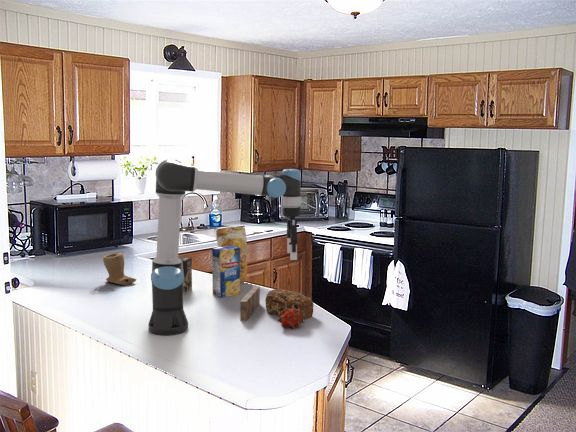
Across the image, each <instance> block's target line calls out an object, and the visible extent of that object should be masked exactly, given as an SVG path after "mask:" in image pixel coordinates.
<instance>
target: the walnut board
mask: <svg viewBox="0 0 576 432" xmlns="http://www.w3.org/2000/svg"><path fill="white" fill-rule="evenodd" d="M260 290H261V287H260V286H253V287H252V288H251V289H250V290H249V291H248V293H246V295H245V296H244V297H243V298H242V299H241V300H239V301H240V302H239V303H240V304H239V305H240V308H239V310H240V314H239V315H240V316H239V317H240V318H239V320H240V321H243V322H246V321H248V320H249V319H250V317H251V316H252V315H253V313H255V311H256V310H257V309H258V307H259V306H260V304H261V302H260V301H261V299H260V298H261V295H260V294H261V291H260Z"/></svg>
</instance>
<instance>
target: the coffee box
mask: <svg viewBox="0 0 576 432" xmlns="http://www.w3.org/2000/svg"><path fill="white" fill-rule="evenodd" d="M178 257H179V259H180V260H181V261H182V264H181V271H182V273H183V296H185V295H187V294H188V293H190V292H191V291H192V290H193V271H192V270H193V266H192V265H193V263H192V262H193V261H192V260H193V258H192V257H190V256H178Z"/></svg>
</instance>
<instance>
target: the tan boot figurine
mask: <svg viewBox="0 0 576 432" xmlns="http://www.w3.org/2000/svg"><path fill="white" fill-rule="evenodd" d="M102 258H103V259H102V260H103V264H104V266H105V268H106V271H107V273H108V277H107V278H106V279H105V280H106V281H107V282H108V283H112V284H116V285H122V286H128V285H131V284H134V283H135V282H137V279H136V278H134V277H132V276H127V275H125V273H124V272H125V271H124V270H125V259H124V258H125V257H124V255H123V253H121V252H118V253H117V252H112V253H109V254H107V255H104V256H103V257H102Z"/></svg>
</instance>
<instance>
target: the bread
mask: <svg viewBox="0 0 576 432" xmlns="http://www.w3.org/2000/svg"><path fill="white" fill-rule="evenodd" d="M264 302H265V308H266V309H265V310H266V312H267V313H268V314H273V315H275V316H277V317H280V316H281V314H282V312H283V311H286V309H288V308H289V309H290V308H291V309H293V307H295V308H296V309H302V311H303V312H304V313H305V316H304V317H305V319H309V318H312V317H313V316H314V306H315V305H314V301H313V300H312V298H310V297H309V296H306V295H304V294H302V293H301V292H297V291H294V290H286V289H284V288H281V289H280V288H275V289H272V290H270V291H268V292H267V293H266V297H265V300H264Z"/></svg>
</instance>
